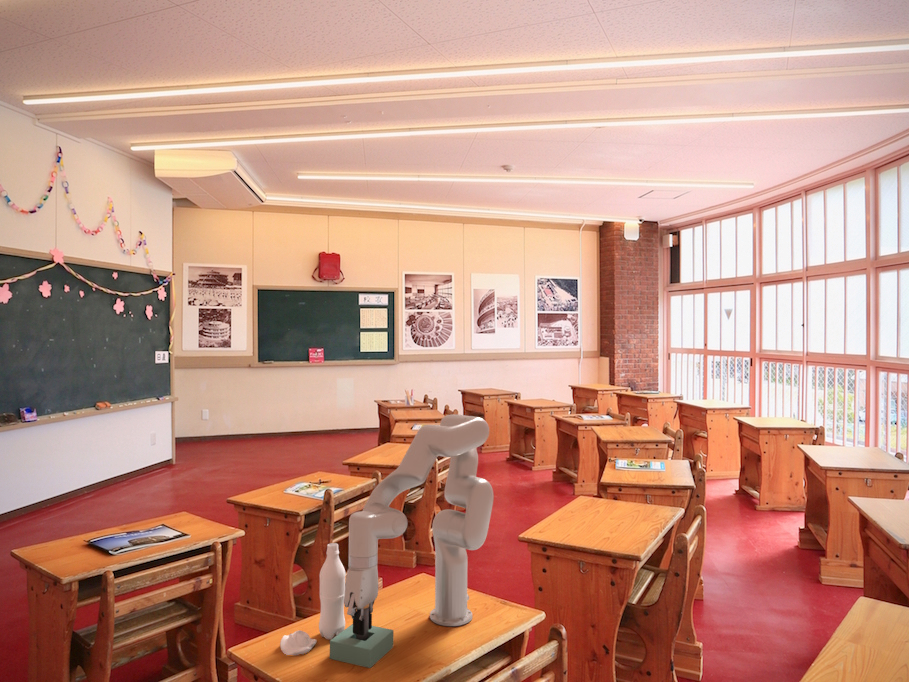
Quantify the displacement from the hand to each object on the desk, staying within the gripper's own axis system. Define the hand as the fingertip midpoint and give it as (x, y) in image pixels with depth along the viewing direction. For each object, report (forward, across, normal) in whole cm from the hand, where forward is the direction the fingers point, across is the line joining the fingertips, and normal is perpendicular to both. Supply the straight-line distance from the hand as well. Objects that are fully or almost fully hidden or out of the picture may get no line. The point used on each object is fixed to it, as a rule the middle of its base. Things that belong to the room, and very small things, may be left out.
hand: (362, 630), depth 160 cm
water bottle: (+6, -5, -13) cm, 15 cm away
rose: (+6, +4, -17) cm, 19 cm away
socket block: (+6, 0, 0) cm, 6 cm away
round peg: (+3, 0, 0) cm, 3 cm away
